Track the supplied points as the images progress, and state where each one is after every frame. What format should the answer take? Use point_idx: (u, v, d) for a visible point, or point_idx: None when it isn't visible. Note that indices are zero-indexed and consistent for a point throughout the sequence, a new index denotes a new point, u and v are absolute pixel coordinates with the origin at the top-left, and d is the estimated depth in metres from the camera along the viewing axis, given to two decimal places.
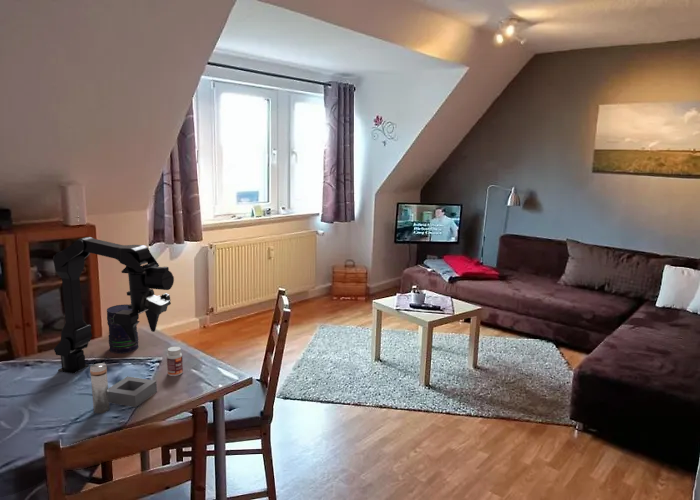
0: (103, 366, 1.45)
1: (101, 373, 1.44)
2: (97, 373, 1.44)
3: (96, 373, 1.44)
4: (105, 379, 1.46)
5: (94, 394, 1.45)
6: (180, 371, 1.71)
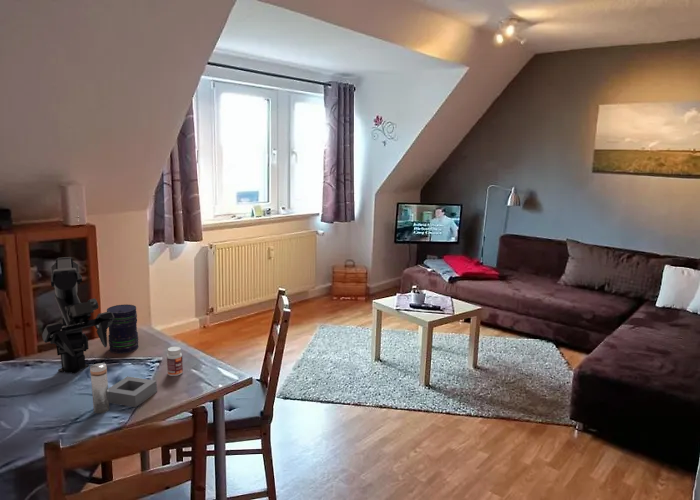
0: (103, 366, 1.45)
1: (101, 373, 1.44)
2: (97, 373, 1.44)
3: (96, 373, 1.44)
4: (105, 379, 1.46)
5: (94, 394, 1.45)
6: (180, 371, 1.71)
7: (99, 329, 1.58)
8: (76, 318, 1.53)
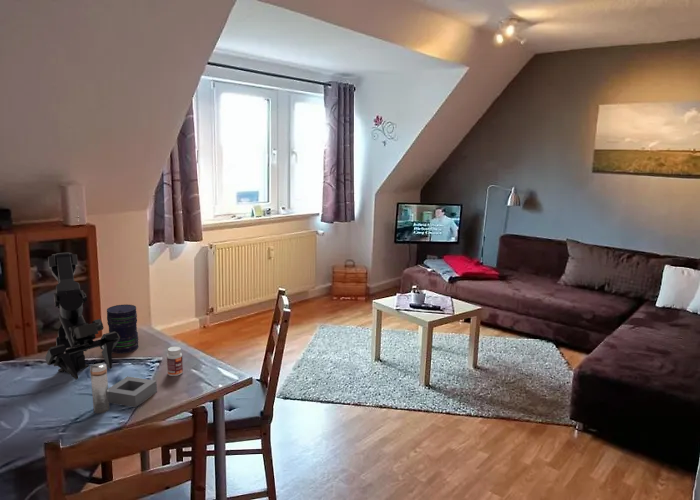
0: (103, 366, 1.45)
1: (101, 373, 1.44)
2: (97, 373, 1.44)
3: (96, 373, 1.44)
4: (105, 379, 1.46)
5: (94, 394, 1.45)
6: (180, 371, 1.71)
7: (104, 350, 1.53)
8: (80, 339, 1.48)
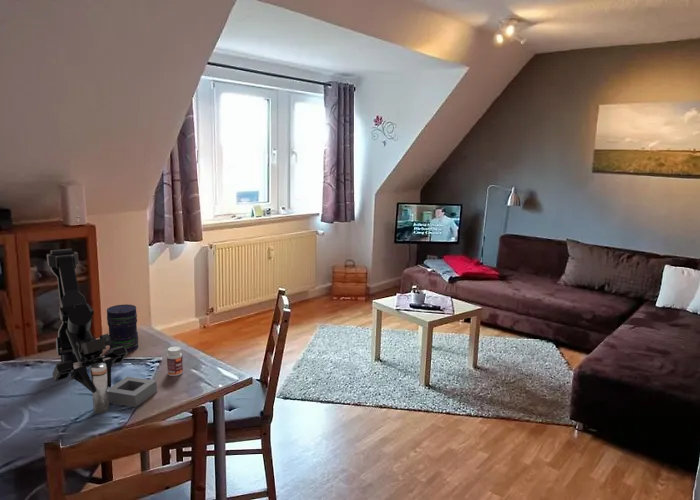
0: (103, 366, 1.45)
1: (101, 373, 1.44)
2: (97, 373, 1.44)
3: (96, 373, 1.44)
4: (105, 379, 1.46)
5: (94, 394, 1.45)
6: (180, 371, 1.71)
7: None
8: (88, 355, 1.46)
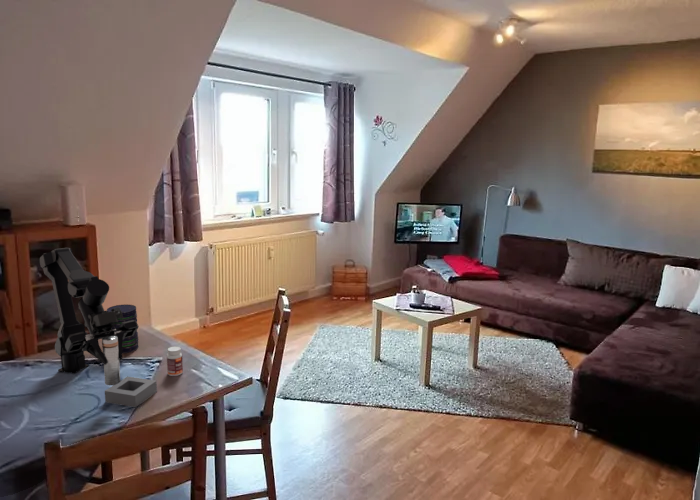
0: (114, 338, 1.47)
1: (112, 345, 1.46)
2: (108, 345, 1.46)
3: (107, 345, 1.45)
4: (116, 351, 1.47)
5: (105, 366, 1.47)
6: (180, 371, 1.71)
7: None
8: (100, 327, 1.48)
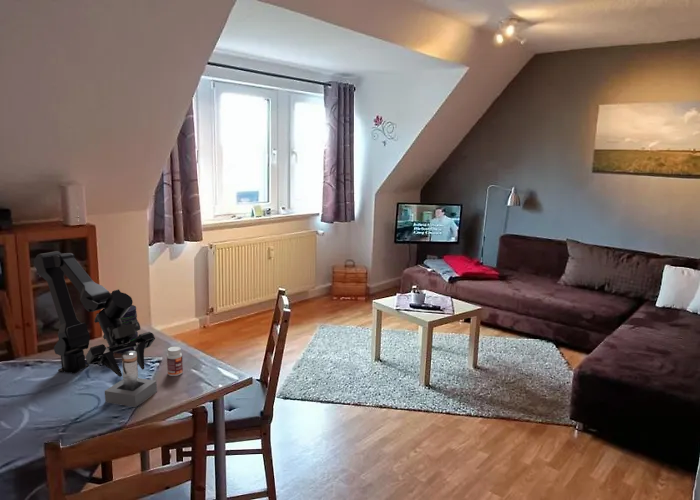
0: (134, 353, 1.53)
1: (132, 360, 1.52)
2: (128, 360, 1.51)
3: (127, 360, 1.51)
4: (135, 366, 1.53)
5: (125, 380, 1.53)
6: (180, 371, 1.71)
7: (136, 351, 1.58)
8: (118, 339, 1.54)
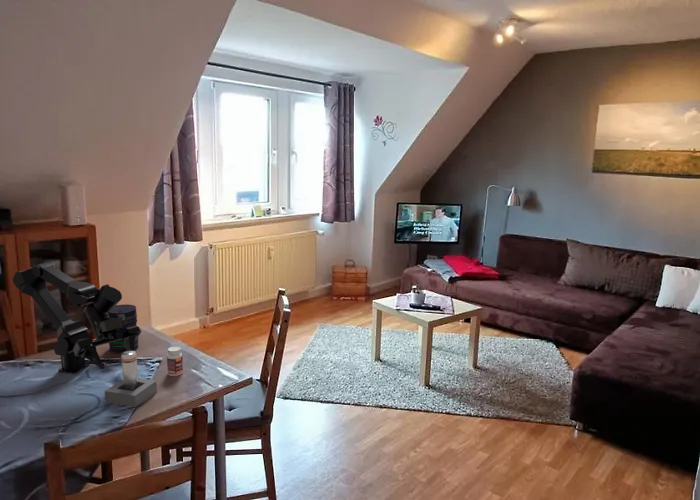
0: (133, 353, 1.53)
1: (131, 360, 1.52)
2: (128, 360, 1.51)
3: (126, 360, 1.51)
4: (135, 366, 1.53)
5: (125, 380, 1.53)
6: (180, 371, 1.71)
7: (127, 343, 1.64)
8: (105, 333, 1.59)
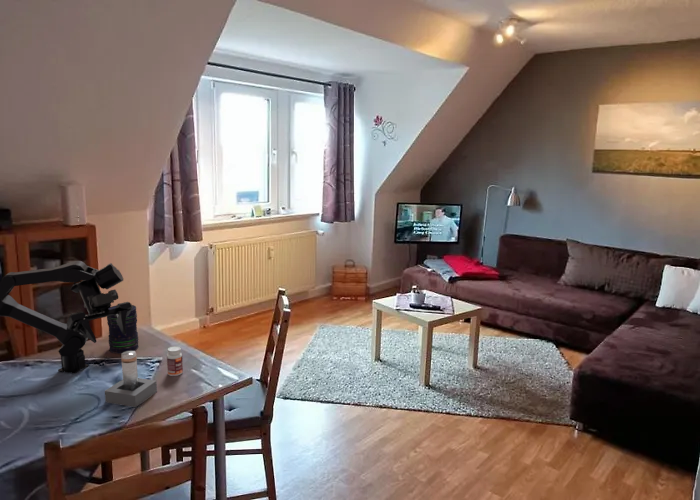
0: (133, 353, 1.53)
1: (132, 360, 1.52)
2: (128, 360, 1.51)
3: (127, 360, 1.51)
4: (135, 366, 1.53)
5: (125, 380, 1.53)
6: (180, 371, 1.71)
7: (119, 318, 1.70)
8: (98, 307, 1.65)
